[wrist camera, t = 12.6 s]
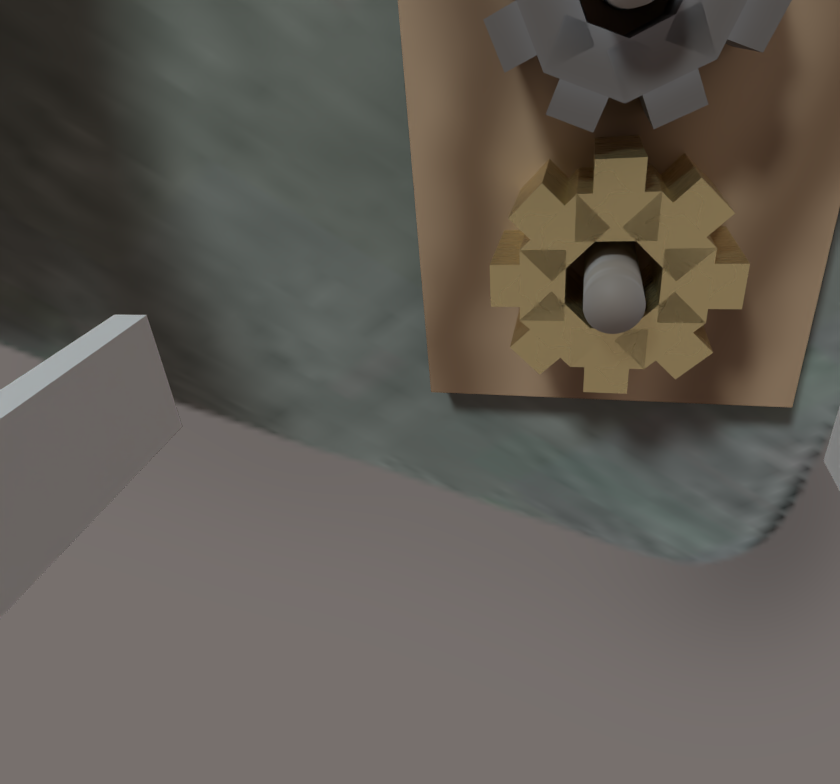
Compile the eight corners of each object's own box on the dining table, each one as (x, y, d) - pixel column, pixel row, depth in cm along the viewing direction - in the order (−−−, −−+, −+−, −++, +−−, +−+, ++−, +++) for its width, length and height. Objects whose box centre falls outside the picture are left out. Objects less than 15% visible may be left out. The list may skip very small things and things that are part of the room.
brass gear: (502, 142, 28) (486, 164, 24) (741, 129, 26) (769, 151, 21) (506, 340, 33) (493, 388, 28) (707, 345, 30) (726, 397, 26)
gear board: (438, 375, 37) (398, 466, 29) (391, -228, 24) (300, -341, 17) (781, 387, 33) (839, 498, 25) (943, -338, 20) (1159, -557, 12)
